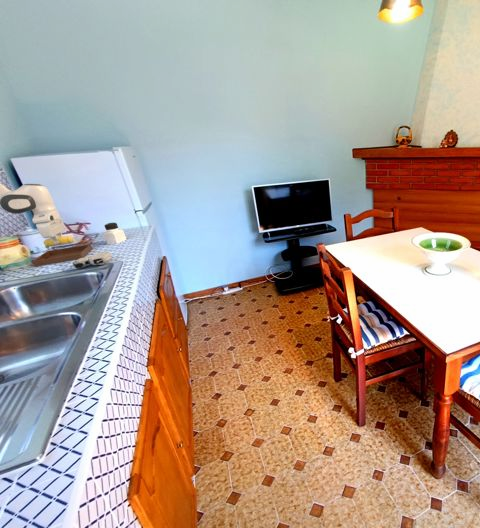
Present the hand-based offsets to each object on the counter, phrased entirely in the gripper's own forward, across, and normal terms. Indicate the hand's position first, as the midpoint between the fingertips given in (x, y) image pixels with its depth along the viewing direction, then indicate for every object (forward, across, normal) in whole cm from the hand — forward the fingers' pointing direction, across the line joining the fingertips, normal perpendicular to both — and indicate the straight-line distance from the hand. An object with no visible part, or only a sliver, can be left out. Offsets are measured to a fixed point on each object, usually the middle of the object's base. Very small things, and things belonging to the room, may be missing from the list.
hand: (59, 242), depth 157 cm
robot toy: (+9, +25, +18) cm, 32 cm away
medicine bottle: (+9, -17, +20) cm, 28 cm away
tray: (+9, 0, 0) cm, 9 cm away
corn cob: (+2, 0, 0) cm, 2 cm away
